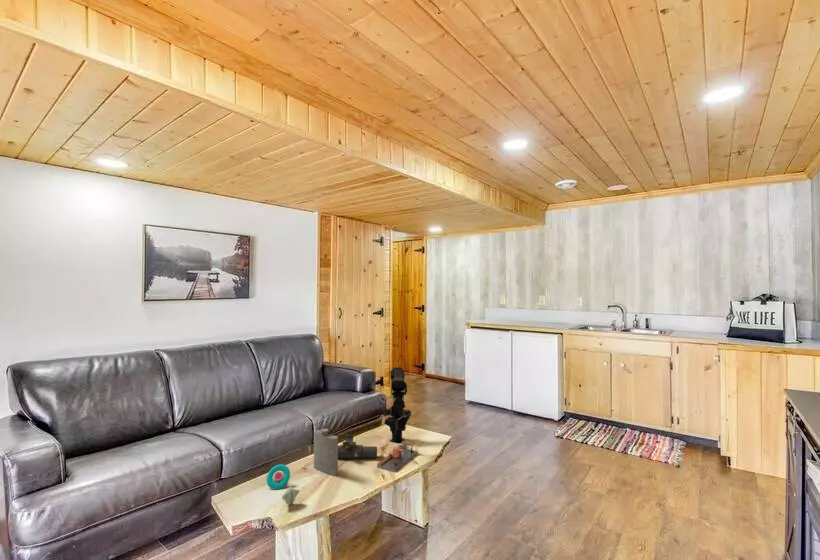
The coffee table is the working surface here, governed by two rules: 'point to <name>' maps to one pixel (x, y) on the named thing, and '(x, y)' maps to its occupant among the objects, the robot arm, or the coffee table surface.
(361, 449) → the laser sight
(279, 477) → the ornament
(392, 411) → the robot arm
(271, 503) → the coffee table surface
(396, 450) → the block
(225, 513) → the coffee table surface
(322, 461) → the hip flask
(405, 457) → the plate
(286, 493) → the grey-green faceted piece
